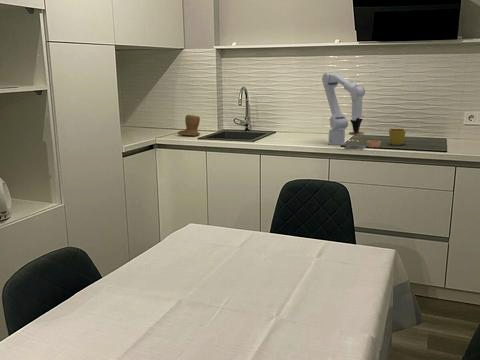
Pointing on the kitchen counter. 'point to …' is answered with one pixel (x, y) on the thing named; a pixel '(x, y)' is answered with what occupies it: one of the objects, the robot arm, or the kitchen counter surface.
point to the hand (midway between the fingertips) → (356, 131)
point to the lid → (356, 133)
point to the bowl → (373, 143)
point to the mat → (355, 147)
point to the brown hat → (191, 126)
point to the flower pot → (396, 136)
